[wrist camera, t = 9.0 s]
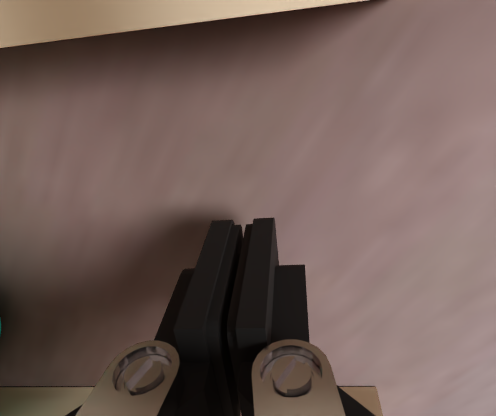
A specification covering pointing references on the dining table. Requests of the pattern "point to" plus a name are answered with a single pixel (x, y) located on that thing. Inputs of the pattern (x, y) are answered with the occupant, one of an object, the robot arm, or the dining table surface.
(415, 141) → the dining table surface
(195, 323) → the robot arm
